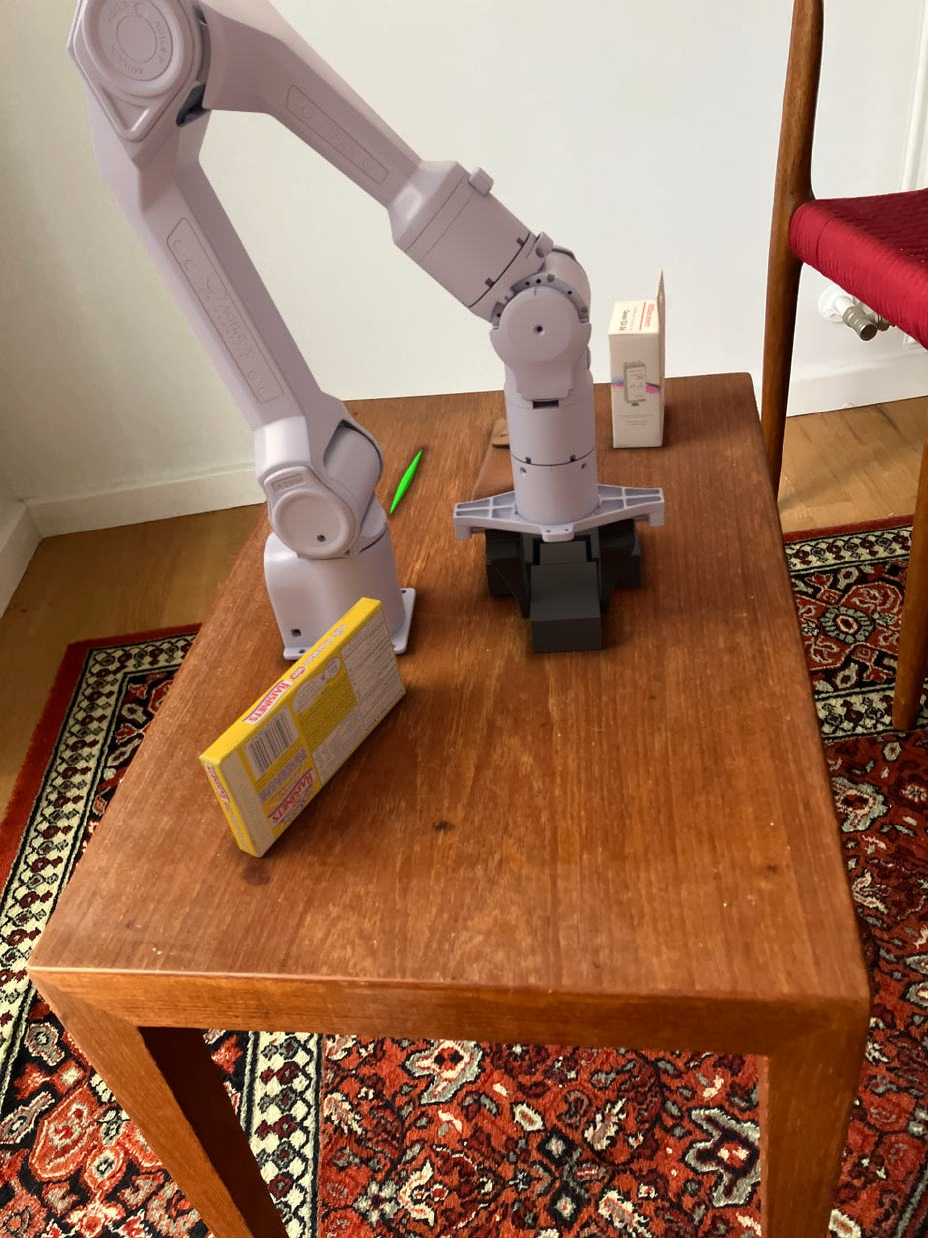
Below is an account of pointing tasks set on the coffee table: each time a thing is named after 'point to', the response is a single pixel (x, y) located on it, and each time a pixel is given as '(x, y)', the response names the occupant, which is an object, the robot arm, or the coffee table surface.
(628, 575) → the notch pad
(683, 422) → the coffee table surface
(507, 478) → the sunglasses case
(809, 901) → the coffee table surface
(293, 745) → the candy box
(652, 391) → the ink cartridge box
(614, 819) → the coffee table surface
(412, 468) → the green spindle
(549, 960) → the coffee table surface
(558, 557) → the pad
